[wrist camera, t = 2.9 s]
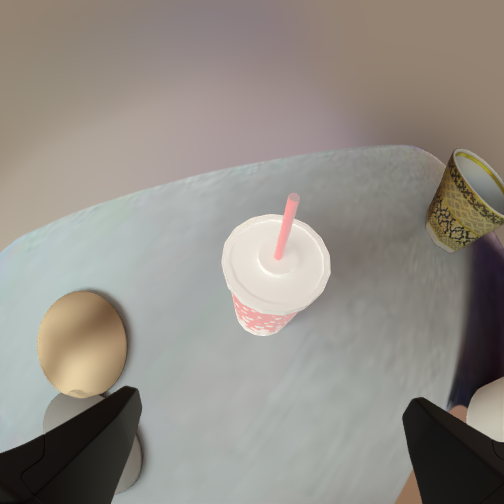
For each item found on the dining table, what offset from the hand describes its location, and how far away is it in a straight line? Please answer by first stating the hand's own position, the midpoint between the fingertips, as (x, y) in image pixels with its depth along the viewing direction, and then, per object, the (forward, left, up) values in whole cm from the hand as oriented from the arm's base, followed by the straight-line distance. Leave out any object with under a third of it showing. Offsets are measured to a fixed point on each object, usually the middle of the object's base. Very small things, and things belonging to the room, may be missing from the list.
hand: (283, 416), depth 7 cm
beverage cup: (+3, -7, -14) cm, 16 cm away
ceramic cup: (-14, -28, -14) cm, 34 cm away
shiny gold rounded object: (+15, +5, -13) cm, 21 cm away
